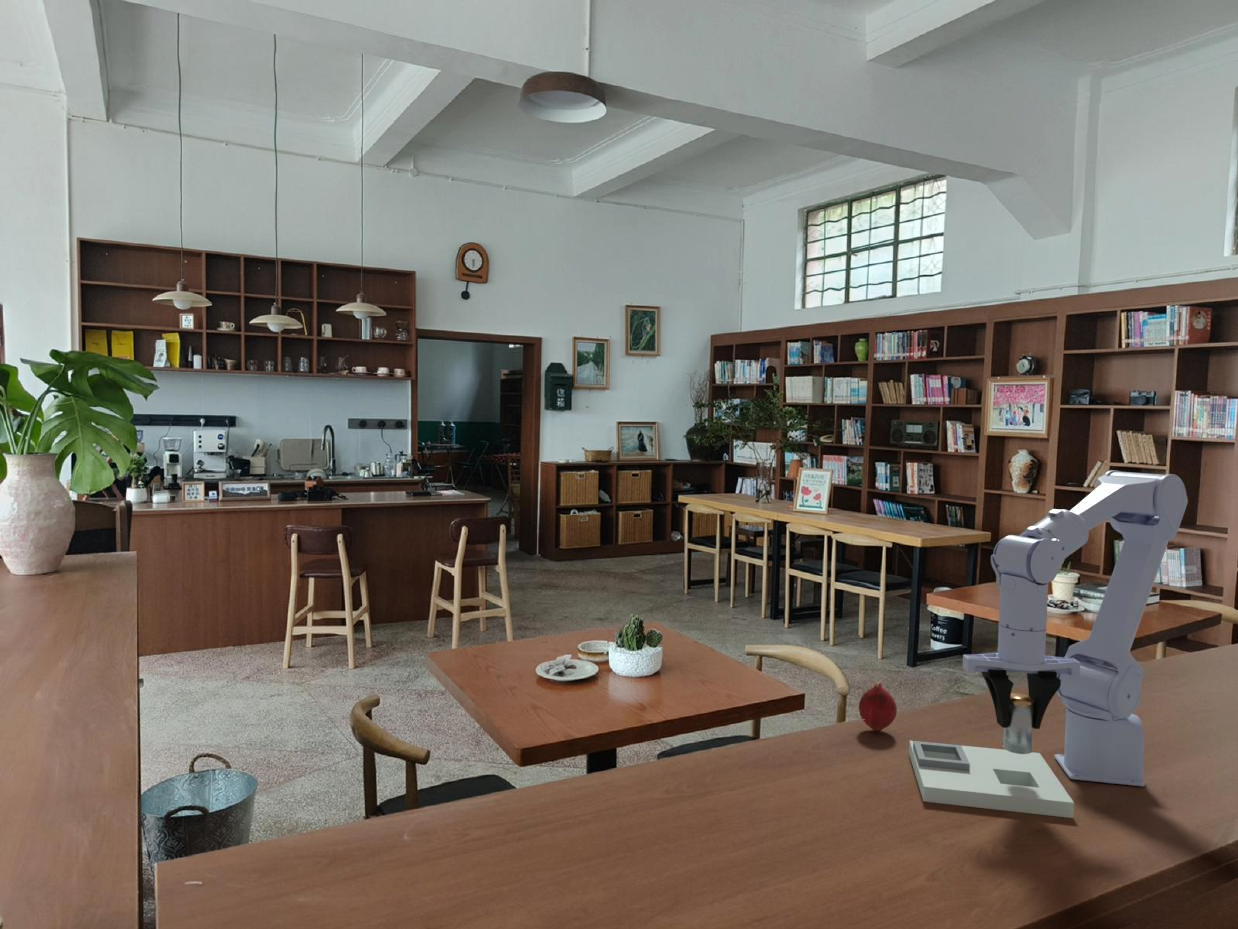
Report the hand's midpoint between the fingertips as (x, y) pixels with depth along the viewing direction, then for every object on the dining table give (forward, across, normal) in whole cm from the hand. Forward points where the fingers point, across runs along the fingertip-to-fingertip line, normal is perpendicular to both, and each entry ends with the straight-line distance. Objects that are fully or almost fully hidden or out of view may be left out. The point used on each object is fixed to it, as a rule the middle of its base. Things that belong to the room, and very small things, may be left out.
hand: (1018, 725), depth 111 cm
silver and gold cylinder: (+3, 0, 0) cm, 3 cm away
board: (+9, +3, -2) cm, 10 cm away
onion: (+9, +14, -20) cm, 26 cm away
